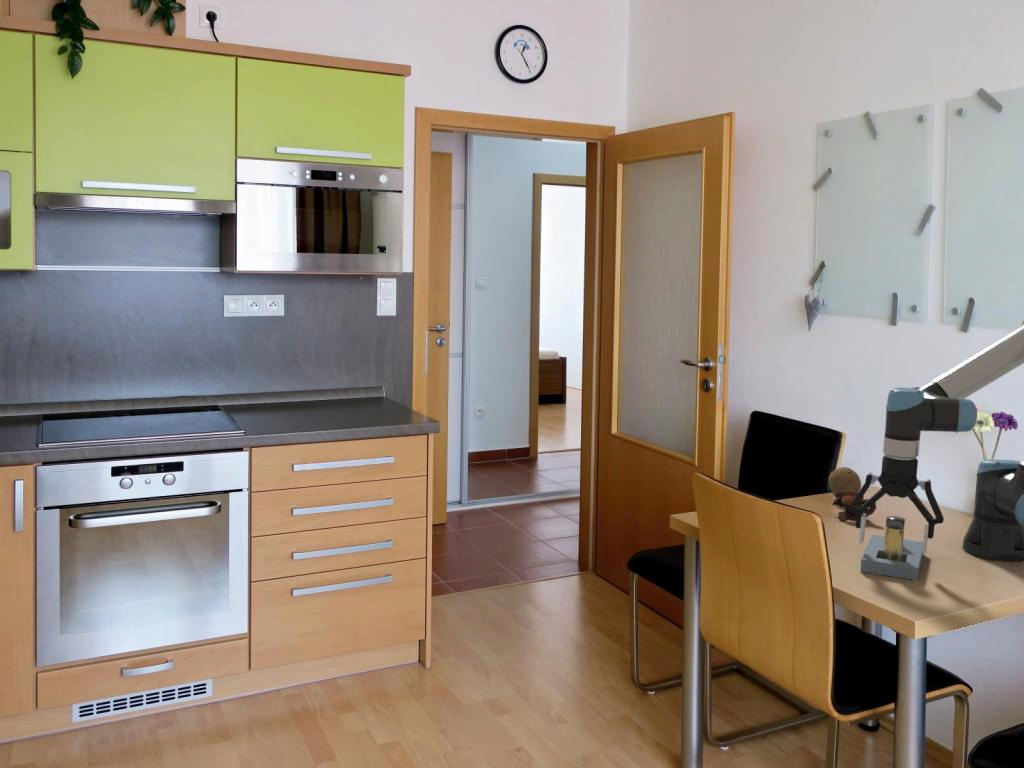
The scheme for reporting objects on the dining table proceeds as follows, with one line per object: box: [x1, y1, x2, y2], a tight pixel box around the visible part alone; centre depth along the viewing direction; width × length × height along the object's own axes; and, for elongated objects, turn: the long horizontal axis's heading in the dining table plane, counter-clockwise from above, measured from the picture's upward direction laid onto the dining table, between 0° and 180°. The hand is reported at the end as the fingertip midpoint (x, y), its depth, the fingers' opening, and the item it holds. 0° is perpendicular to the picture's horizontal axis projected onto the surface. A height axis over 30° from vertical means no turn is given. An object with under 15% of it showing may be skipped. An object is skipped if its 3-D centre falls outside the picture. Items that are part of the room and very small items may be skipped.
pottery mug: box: [832, 492, 877, 522], centre depth 271 cm, size 12×10×8 cm
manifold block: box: [859, 534, 924, 581], centre depth 233 cm, size 12×22×3 cm, turn 155°
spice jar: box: [883, 515, 906, 562], centre depth 228 cm, size 4×4×12 cm
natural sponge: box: [828, 466, 862, 498], centre depth 289 cm, size 9×9×10 cm
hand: (892, 546), depth 228 cm, fingers open, 13 cm apart
